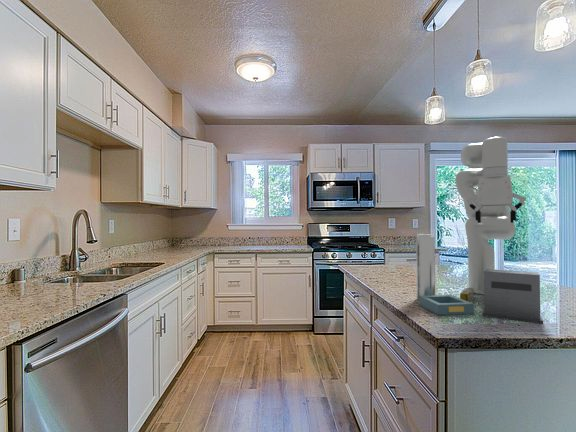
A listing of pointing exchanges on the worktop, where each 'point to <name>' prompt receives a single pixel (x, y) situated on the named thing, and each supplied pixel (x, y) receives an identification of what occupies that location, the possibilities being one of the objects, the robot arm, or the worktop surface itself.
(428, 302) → the socket block
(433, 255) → the white tall cylinder
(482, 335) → the worktop surface
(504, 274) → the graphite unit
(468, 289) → the medication box
